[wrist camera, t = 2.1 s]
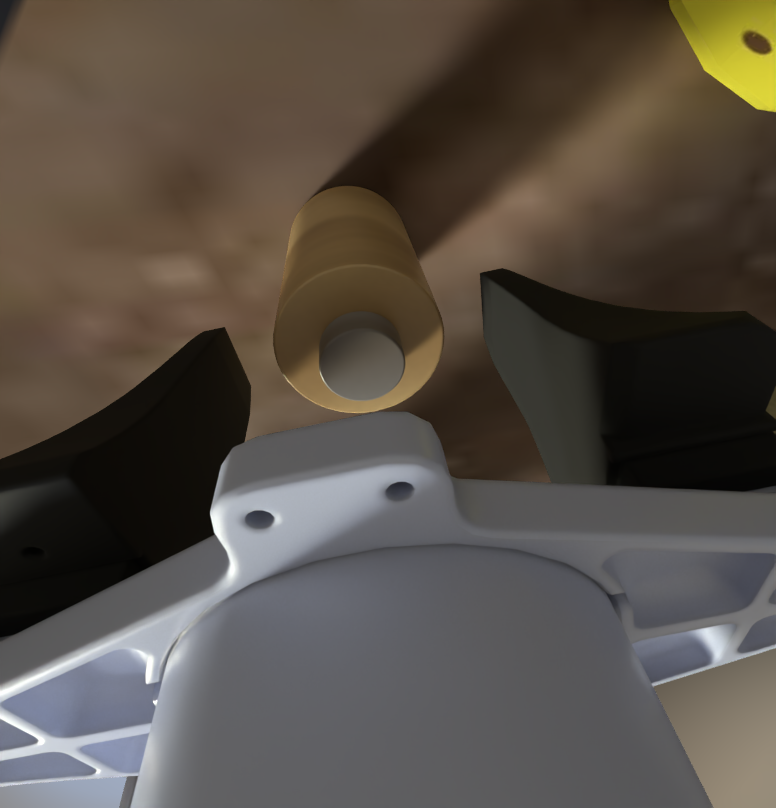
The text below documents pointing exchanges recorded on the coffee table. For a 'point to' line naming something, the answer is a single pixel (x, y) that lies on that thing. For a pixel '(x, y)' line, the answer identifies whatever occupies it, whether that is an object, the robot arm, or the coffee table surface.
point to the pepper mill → (355, 305)
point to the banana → (734, 44)
